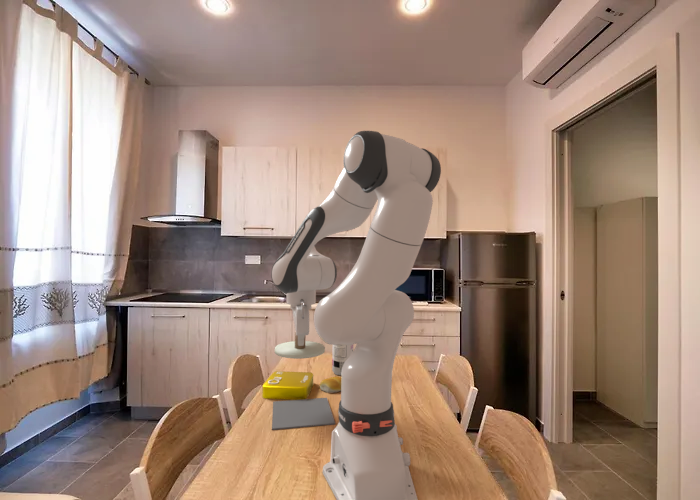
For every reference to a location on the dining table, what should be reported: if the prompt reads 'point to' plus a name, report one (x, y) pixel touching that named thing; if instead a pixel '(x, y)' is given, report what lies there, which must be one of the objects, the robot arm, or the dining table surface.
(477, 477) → the dining table surface
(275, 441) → the dining table surface
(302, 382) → the element tile
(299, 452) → the dining table surface
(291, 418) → the mat
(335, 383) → the bread roll
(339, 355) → the supplement can
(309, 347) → the lid
